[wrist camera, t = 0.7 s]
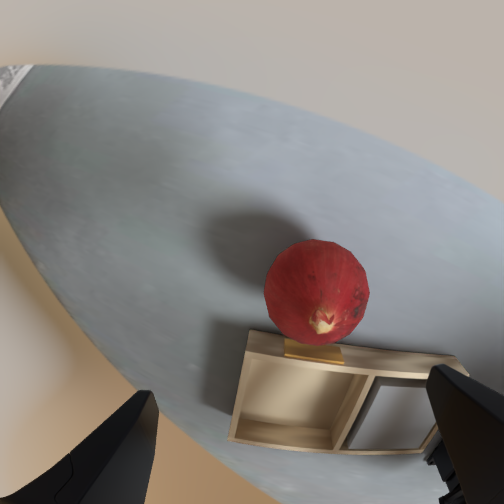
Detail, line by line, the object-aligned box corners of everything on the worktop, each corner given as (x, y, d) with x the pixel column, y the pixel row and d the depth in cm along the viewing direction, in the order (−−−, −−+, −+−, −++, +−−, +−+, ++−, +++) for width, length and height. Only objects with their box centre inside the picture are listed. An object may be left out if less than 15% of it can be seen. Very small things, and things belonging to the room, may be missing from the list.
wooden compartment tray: (455, 353, 22) (472, 374, 19) (413, 431, 24) (422, 455, 21) (250, 326, 22) (245, 350, 19) (232, 416, 25) (226, 443, 22)
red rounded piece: (360, 236, 20) (405, 274, 12) (342, 316, 22) (369, 384, 14) (273, 222, 20) (270, 254, 13) (261, 305, 22) (252, 373, 14)
